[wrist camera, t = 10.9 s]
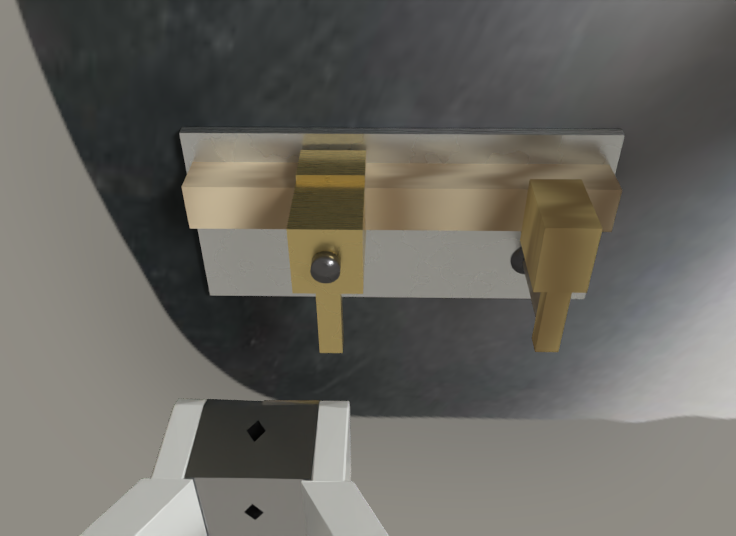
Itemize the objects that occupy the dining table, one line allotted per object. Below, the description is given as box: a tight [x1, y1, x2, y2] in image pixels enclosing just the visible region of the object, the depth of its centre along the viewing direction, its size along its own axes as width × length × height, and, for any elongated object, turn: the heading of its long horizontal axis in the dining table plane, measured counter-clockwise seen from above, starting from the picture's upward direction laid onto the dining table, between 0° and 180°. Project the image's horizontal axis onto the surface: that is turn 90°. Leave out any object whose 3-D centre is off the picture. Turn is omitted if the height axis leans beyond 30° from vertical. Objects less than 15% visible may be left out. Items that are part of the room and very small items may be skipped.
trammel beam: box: [182, 162, 622, 352], centre depth 43 cm, size 26×9×8 cm, turn 90°
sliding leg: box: [286, 150, 366, 353], centre depth 42 cm, size 4×10×9 cm, turn 0°
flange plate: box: [179, 127, 625, 299], centre depth 46 cm, size 27×13×1 cm, turn 90°
